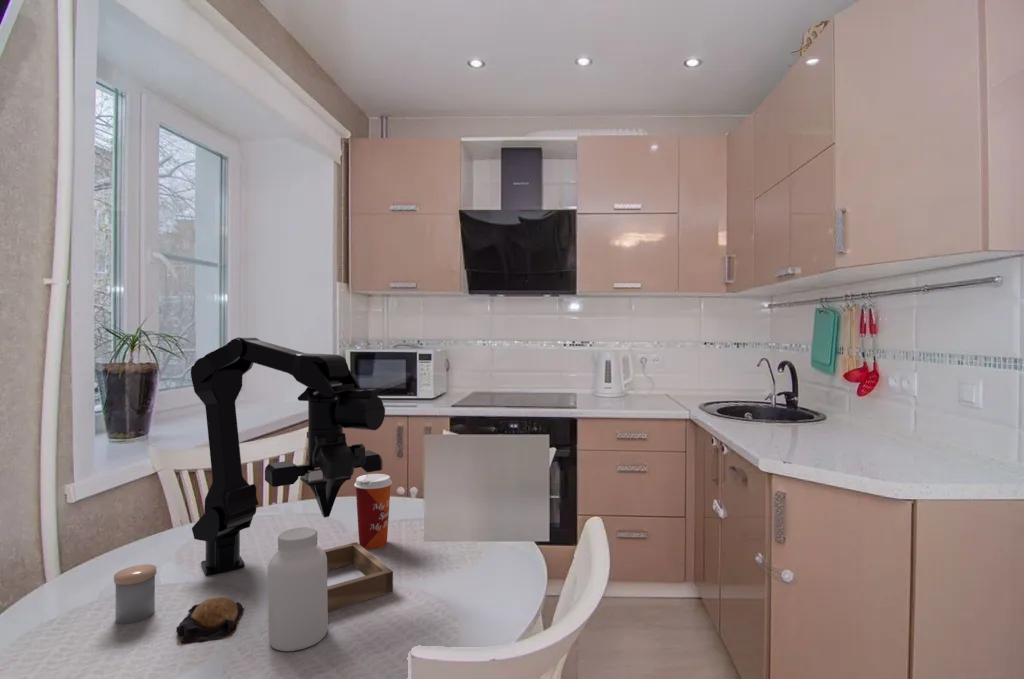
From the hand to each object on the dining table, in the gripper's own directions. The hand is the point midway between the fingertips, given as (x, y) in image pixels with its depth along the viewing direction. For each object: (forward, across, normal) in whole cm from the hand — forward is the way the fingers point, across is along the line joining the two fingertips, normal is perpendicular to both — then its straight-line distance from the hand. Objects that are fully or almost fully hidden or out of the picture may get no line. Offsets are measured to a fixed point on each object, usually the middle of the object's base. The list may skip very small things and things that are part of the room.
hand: (325, 516), depth 93 cm
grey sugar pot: (+12, -27, +8) cm, 31 cm away
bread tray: (+12, 0, -1) cm, 12 cm away
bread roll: (+13, -18, -2) cm, 22 cm away
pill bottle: (+12, -8, -14) cm, 20 cm away
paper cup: (+12, +14, +13) cm, 23 cm away
